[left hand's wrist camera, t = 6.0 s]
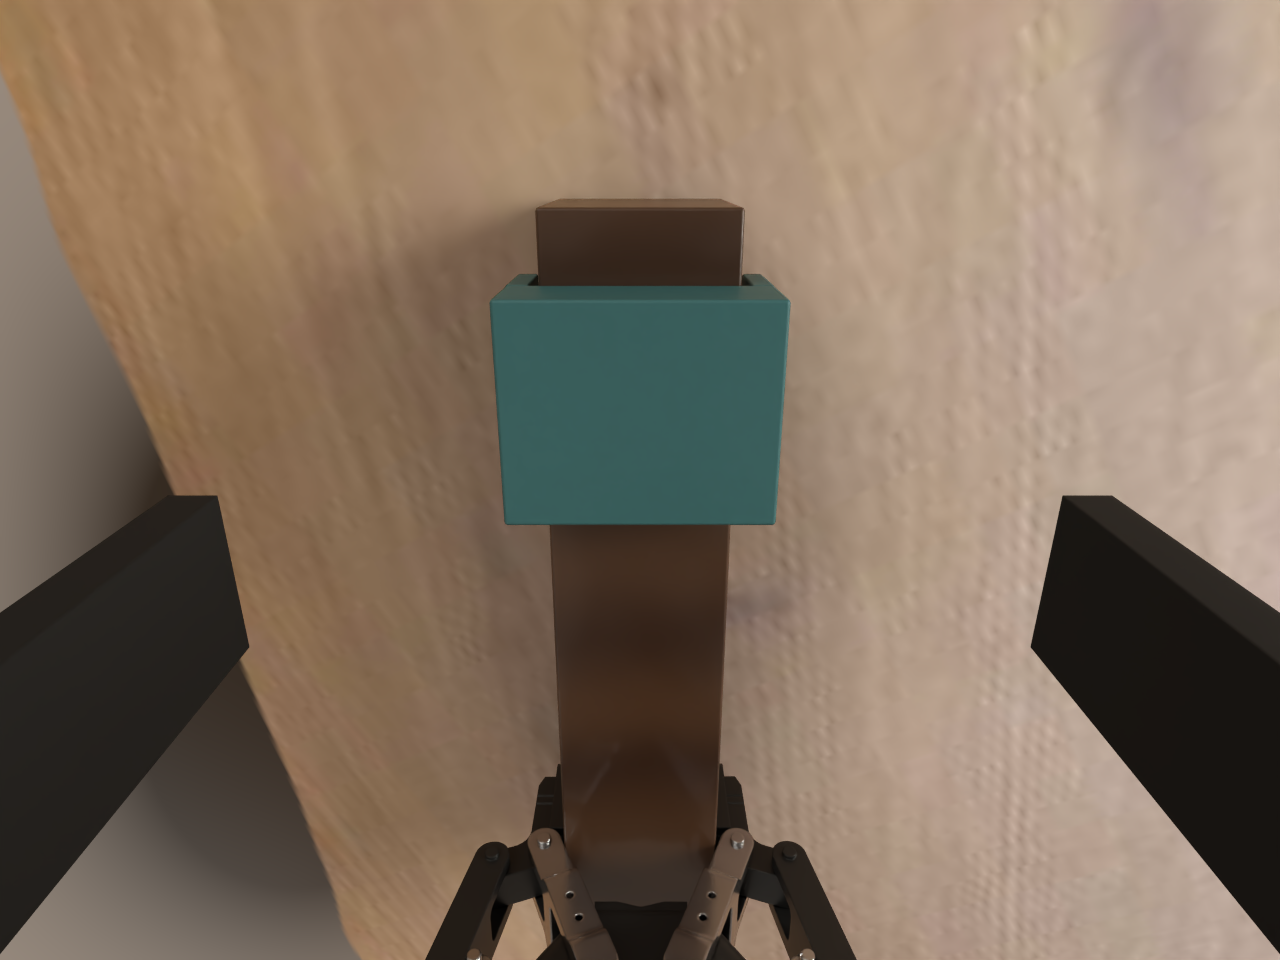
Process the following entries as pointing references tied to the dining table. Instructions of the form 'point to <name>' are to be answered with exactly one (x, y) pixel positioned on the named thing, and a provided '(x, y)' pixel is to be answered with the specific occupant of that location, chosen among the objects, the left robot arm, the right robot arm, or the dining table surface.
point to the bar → (640, 598)
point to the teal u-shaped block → (640, 402)
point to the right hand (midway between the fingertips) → (640, 780)
